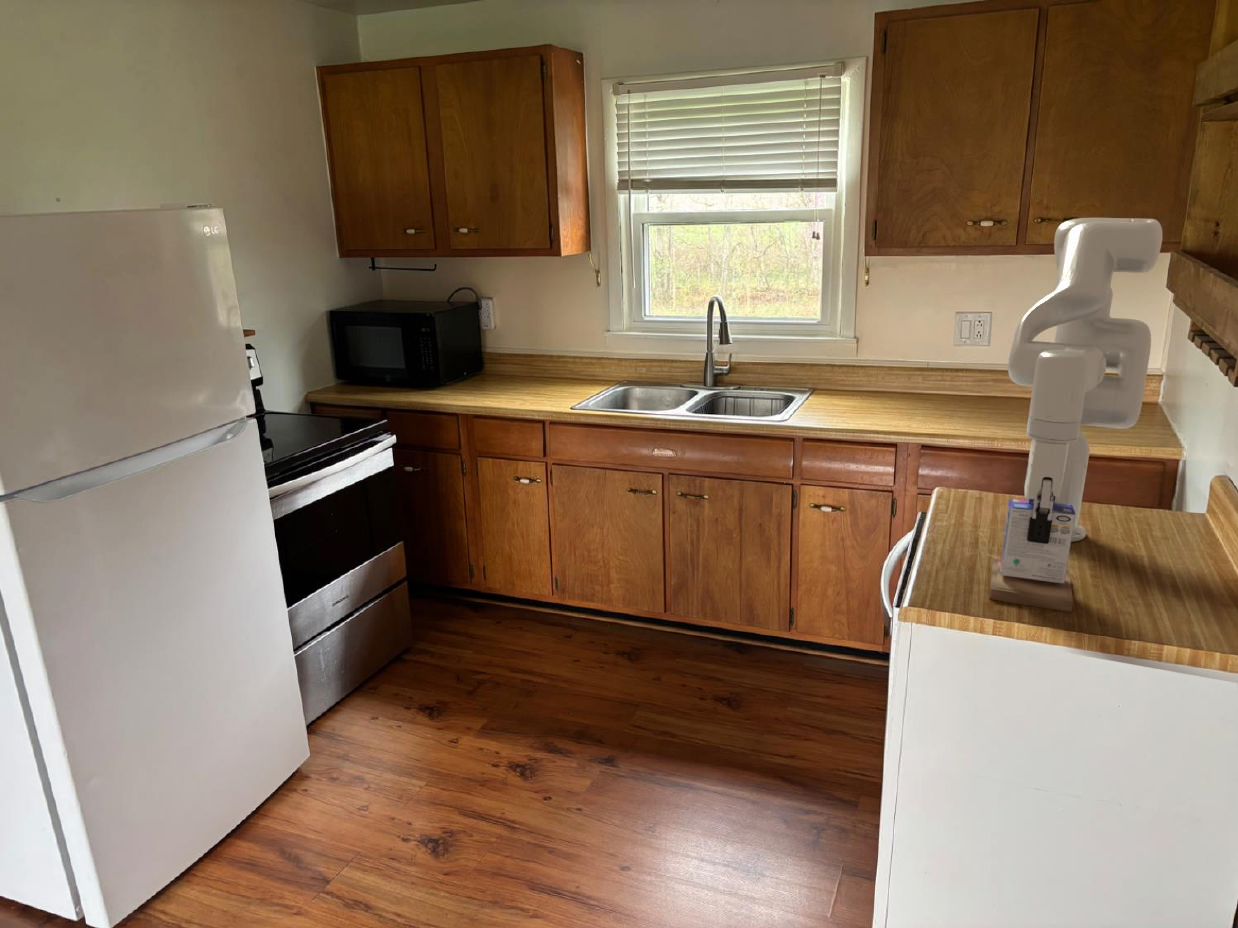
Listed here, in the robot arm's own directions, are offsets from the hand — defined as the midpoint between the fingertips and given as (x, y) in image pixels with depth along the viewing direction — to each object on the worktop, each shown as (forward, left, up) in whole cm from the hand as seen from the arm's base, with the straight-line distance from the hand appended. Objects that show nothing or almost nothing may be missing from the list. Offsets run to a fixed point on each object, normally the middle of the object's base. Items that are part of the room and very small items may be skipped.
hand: (1037, 534), depth 146 cm
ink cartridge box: (0, 0, -7) cm, 7 cm away
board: (0, 0, -10) cm, 10 cm away
